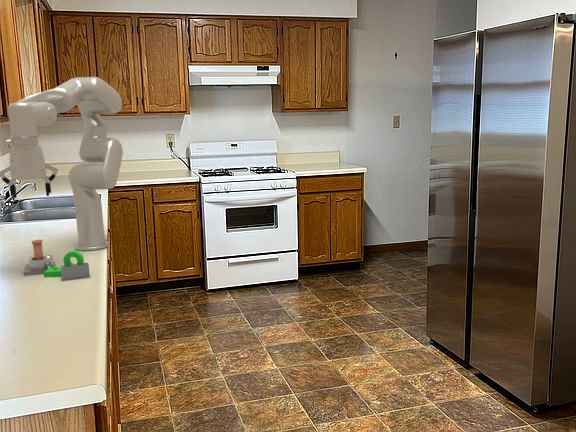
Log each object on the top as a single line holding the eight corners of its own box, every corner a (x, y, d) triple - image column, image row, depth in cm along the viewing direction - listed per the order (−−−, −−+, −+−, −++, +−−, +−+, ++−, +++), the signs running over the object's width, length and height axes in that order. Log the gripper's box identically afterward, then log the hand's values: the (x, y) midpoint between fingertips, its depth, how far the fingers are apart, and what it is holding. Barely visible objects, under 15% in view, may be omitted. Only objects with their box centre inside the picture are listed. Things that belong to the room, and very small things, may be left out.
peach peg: (34, 266, 188) (31, 240, 186) (45, 264, 189) (42, 239, 187) (34, 268, 185) (31, 242, 183) (44, 267, 186) (42, 241, 184)
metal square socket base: (26, 268, 190) (24, 253, 189) (55, 264, 193) (53, 249, 192) (23, 275, 181) (21, 260, 180) (54, 272, 184) (52, 256, 183)
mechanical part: (89, 271, 185) (86, 247, 183) (83, 276, 179) (80, 251, 177) (51, 272, 184) (48, 248, 183) (44, 278, 178) (41, 253, 177)
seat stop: (62, 278, 177) (60, 265, 176) (89, 274, 179) (88, 262, 179) (62, 280, 174) (60, 268, 173) (89, 277, 177) (88, 264, 176)
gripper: (-7, 144, 173) (0, 200, 176) (54, 141, 179) (60, 195, 182) (-4, 143, 180) (3, 197, 183) (55, 140, 186) (60, 193, 189)
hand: (31, 196), depth 182 cm, fingers open, 9 cm apart
